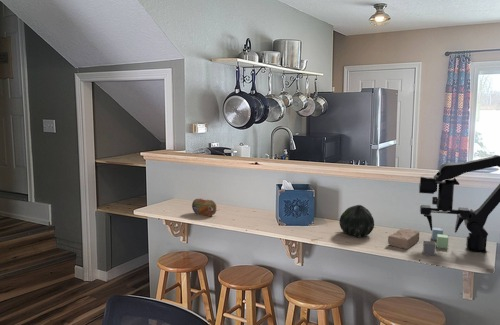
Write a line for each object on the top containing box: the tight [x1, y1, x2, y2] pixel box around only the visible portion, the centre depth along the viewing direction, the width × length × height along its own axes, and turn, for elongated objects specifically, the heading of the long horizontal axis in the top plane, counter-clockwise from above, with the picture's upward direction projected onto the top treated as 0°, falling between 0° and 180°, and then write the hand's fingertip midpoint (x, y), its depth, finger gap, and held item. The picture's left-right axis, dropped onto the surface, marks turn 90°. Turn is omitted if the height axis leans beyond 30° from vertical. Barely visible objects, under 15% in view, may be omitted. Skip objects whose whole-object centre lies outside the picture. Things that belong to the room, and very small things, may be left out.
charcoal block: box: [422, 240, 436, 256], centre depth 173 cm, size 4×4×4 cm
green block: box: [435, 234, 449, 249], centre depth 182 cm, size 4×4×4 cm
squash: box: [338, 204, 375, 238], centre depth 196 cm, size 14×15×15 cm
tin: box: [191, 198, 217, 217], centre depth 229 cm, size 15×3×8 cm, turn 55°
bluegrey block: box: [431, 226, 444, 241], centre depth 191 cm, size 4×4×4 cm
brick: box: [387, 227, 420, 250], centre depth 186 cm, size 17×8×5 cm, turn 142°
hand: (443, 231), depth 181 cm, fingers open, 9 cm apart
